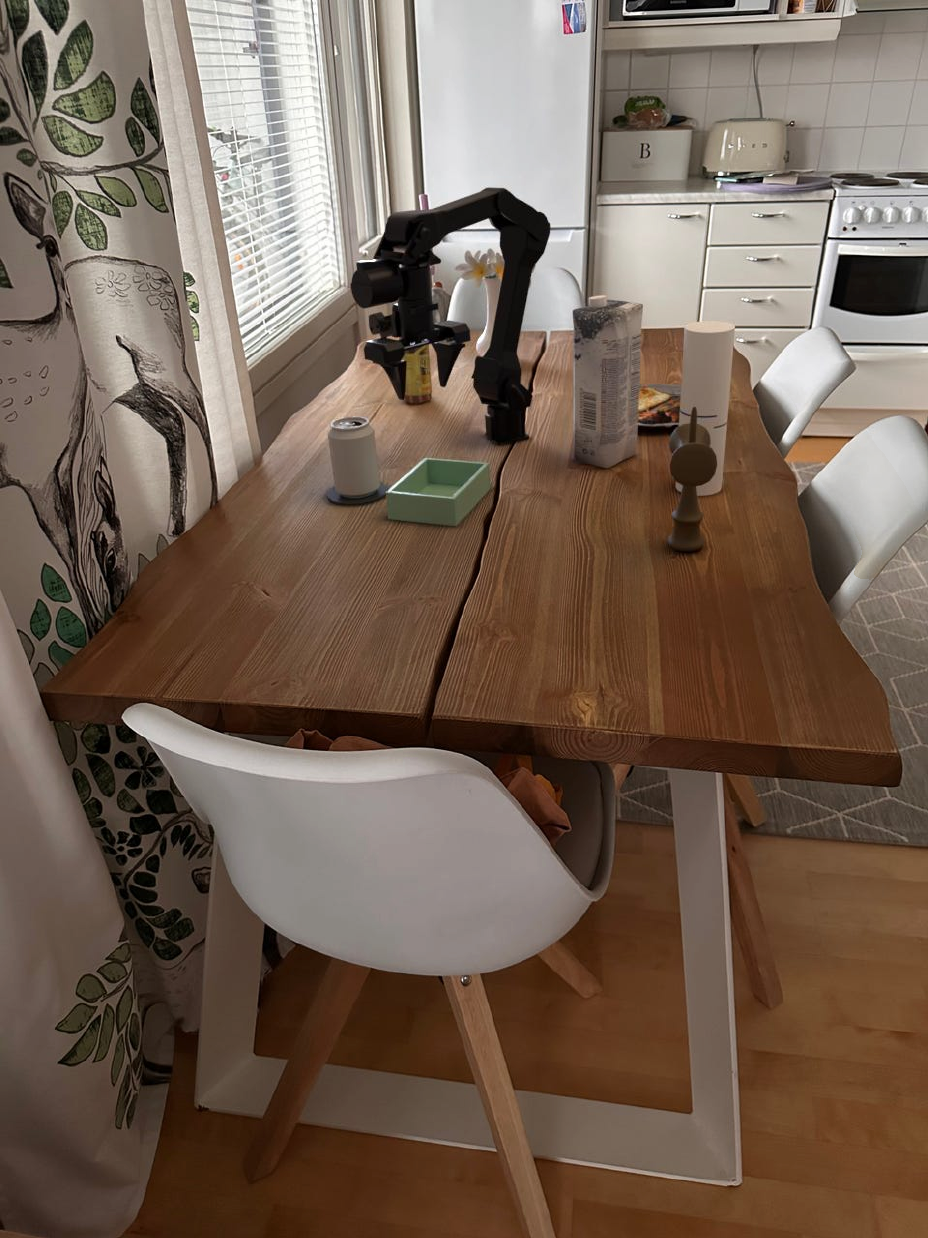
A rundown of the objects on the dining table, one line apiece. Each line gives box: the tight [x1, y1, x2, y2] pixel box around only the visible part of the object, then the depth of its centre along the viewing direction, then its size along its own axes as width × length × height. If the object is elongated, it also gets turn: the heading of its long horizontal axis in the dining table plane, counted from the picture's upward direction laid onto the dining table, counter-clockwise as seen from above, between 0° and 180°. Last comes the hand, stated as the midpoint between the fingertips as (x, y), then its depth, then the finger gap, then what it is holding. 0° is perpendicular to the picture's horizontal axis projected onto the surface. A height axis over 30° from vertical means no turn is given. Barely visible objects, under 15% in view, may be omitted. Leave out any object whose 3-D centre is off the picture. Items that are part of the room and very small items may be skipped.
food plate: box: [638, 383, 681, 430], centre depth 179 cm, size 25×23×4 cm
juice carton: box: [572, 294, 644, 469], centre depth 154 cm, size 9×10×27 cm
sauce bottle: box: [398, 337, 433, 404], centre depth 193 cm, size 6×6×20 cm
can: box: [327, 415, 381, 498], centre depth 151 cm, size 8×8×12 cm
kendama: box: [667, 406, 717, 552], centre depth 124 cm, size 6×10×20 cm, turn 171°
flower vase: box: [454, 247, 537, 357], centre depth 216 cm, size 13×18×25 cm
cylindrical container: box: [675, 320, 736, 497], centre depth 141 cm, size 7×7×25 cm
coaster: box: [326, 482, 389, 507], centre depth 154 cm, size 10×10×1 cm
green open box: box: [385, 457, 492, 527], centre depth 147 cm, size 15×11×4 cm
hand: (422, 392), depth 157 cm, fingers open, 9 cm apart
